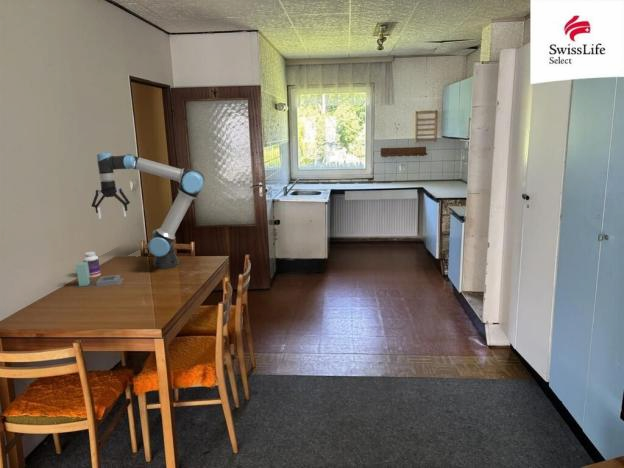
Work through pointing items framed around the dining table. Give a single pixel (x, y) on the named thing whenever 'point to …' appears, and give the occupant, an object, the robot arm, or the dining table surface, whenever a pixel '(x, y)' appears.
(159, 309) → the dining table surface
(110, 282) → the grey socket tray
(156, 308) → the dining table surface
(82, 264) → the plug
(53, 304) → the dining table surface
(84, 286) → the mat
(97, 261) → the pill bottle
